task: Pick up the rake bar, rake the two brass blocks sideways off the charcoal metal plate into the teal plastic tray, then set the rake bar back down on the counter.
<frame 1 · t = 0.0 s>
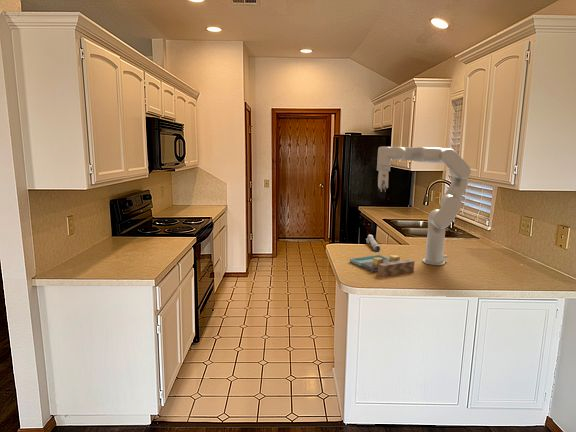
hand: (381, 197, 239), 37 cm above the counter, tool pointing down, fingers open, 9 cm apart
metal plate: (382, 267, 229), on the counter
toothbrush head: (372, 247, 277), on the counter
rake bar: (395, 273, 220), on the counter
brass block 2: (394, 263, 229), point 2 cm above the counter, touching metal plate
brass block 1: (377, 265, 224), point 2 cm above the counter, touching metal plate
teal tray: (370, 262, 238), on the counter
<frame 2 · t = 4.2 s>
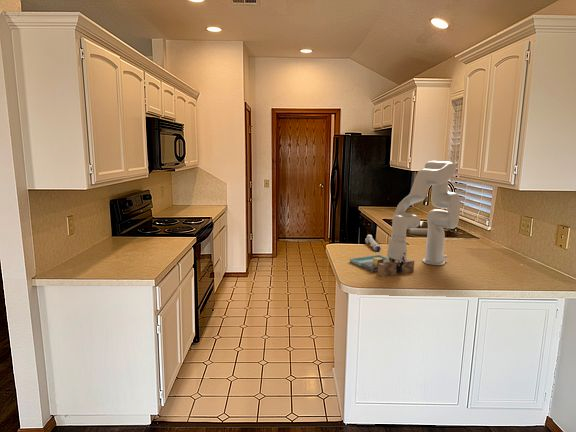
hand: (395, 271, 220), 1 cm above the counter, tool pointing down, fingers closed on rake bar, 4 cm apart
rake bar: (395, 272, 220), on the counter, touching gripper
everything else where it was.
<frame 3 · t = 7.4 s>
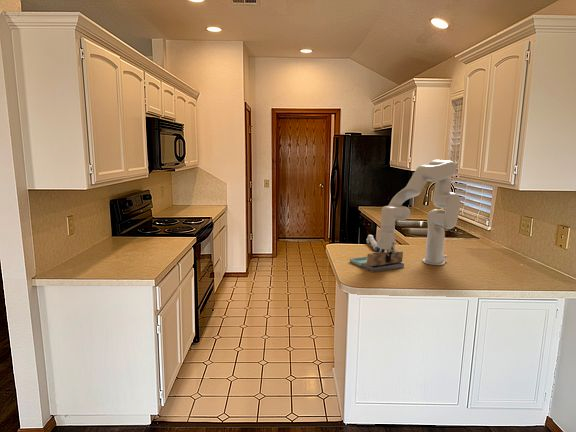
hand: (385, 260, 227), 4 cm above the counter, tool pointing down, fingers closed on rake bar, 4 cm apart
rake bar: (384, 263, 227), point 3 cm above the counter, touching brass block 1, gripper
brass block 2: (388, 260, 234), point 3 cm above the counter
brass block 1: (371, 263, 228), point 3 cm above the counter, touching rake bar
everything else where it was.
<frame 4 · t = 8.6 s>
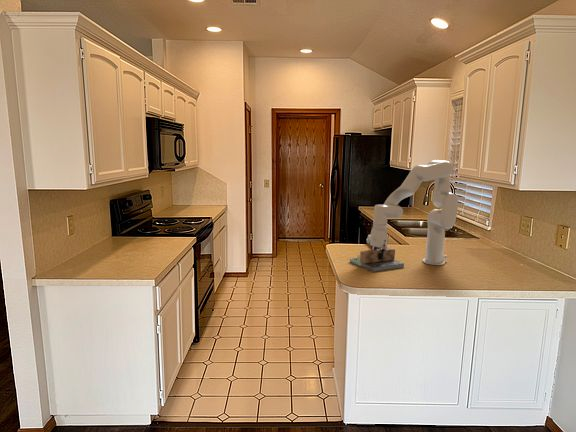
hand: (377, 257, 233), 4 cm above the counter, tool pointing down, fingers closed on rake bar, 4 cm apart
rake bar: (377, 260, 233), point 3 cm above the counter, touching gripper
brass block 2: (381, 258, 238), point 3 cm above the counter, tilted 90°, touching teal tray
brass block 1: (364, 260, 233), point 3 cm above the counter, tilted 90°, touching teal tray
everything else where it was.
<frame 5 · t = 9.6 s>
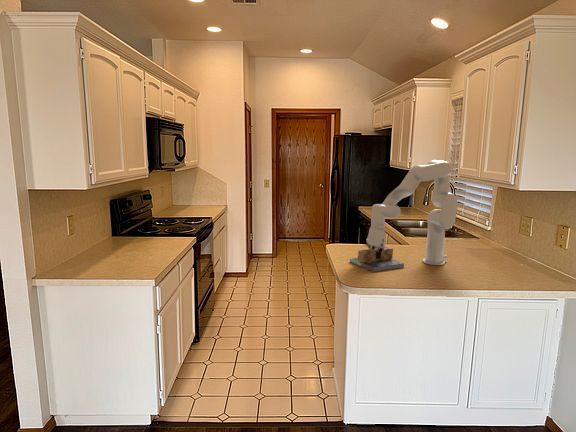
hand: (375, 257, 234), 4 cm above the counter, tool pointing down, fingers closed on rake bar, 4 cm apart
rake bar: (375, 259, 234), point 3 cm above the counter, touching brass block 2, gripper
brass block 2: (381, 258, 239), point 3 cm above the counter, tilted 90°, touching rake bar, teal tray
everything else where it was.
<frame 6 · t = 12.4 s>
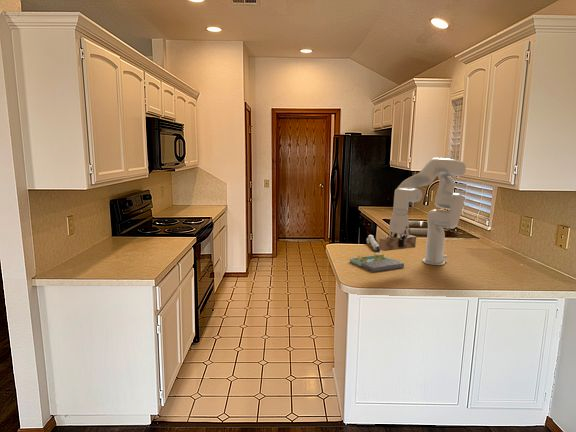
hand: (397, 245, 217), 15 cm above the counter, tool pointing down, fingers closed on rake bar, 4 cm apart
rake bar: (397, 248, 218), point 14 cm above the counter, touching gripper
brass block 2: (381, 258, 239), point 3 cm above the counter, tilted 90°, touching teal tray
everything else where it was.
when the fingers open (2 cm above the counter, at t = 14.8 s): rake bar drops 1 cm, on the counter.
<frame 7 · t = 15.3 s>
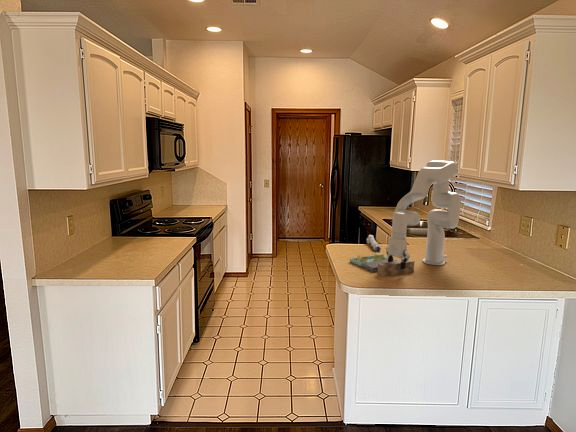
hand: (396, 266, 220), 3 cm above the counter, tool pointing down, fingers open, 9 cm apart
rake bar: (395, 273, 220), on the counter
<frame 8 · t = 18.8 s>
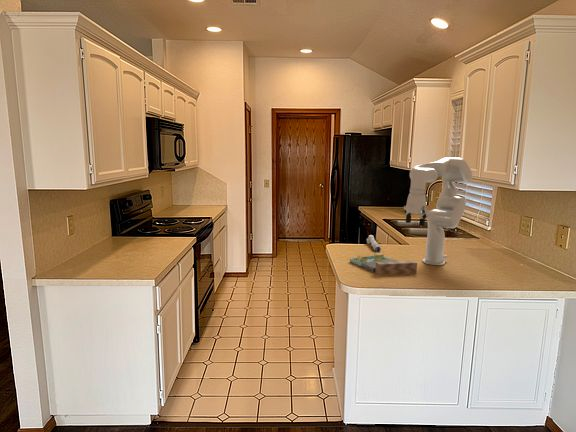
hand: (414, 224, 218), 26 cm above the counter, tool pointing down, fingers open, 9 cm apart
at the end: brass block 2 inside the target area on the teal tray (6.3 cm from its centre), point 2.6 cm above the teal tray's base; brass block 1 inside the target area on the teal tray (6.7 cm from its centre), point 2.6 cm above the teal tray's base; the gripper is holding nothing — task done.
